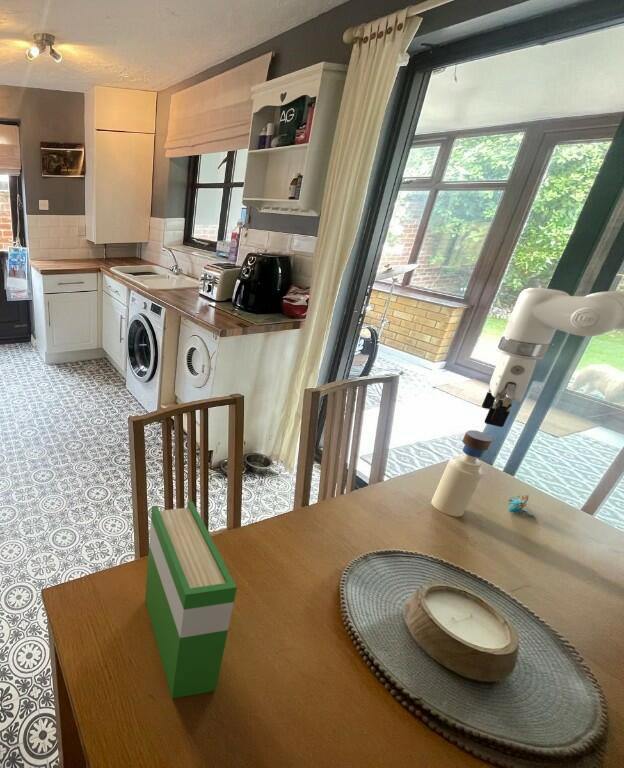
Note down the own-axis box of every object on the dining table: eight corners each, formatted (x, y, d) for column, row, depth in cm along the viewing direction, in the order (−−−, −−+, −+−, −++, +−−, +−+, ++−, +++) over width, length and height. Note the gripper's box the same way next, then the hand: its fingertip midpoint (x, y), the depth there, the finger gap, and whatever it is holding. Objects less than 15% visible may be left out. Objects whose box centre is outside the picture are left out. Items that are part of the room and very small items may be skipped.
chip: (487, 443, 99) (492, 434, 98) (489, 452, 96) (493, 443, 95) (461, 436, 102) (465, 427, 101) (462, 445, 99) (466, 436, 97)
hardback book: (145, 600, 81) (151, 505, 71) (180, 595, 82) (192, 501, 72) (171, 698, 65) (185, 594, 55) (215, 690, 66) (236, 587, 56)
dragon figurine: (485, 491, 112) (508, 499, 104) (515, 483, 111) (540, 491, 103) (494, 513, 112) (517, 524, 104) (523, 506, 111) (549, 516, 103)
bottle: (463, 505, 108) (493, 443, 100) (463, 520, 103) (495, 456, 95) (431, 495, 111) (458, 434, 103) (430, 508, 106) (458, 446, 98)
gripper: (553, 362, 80) (517, 437, 87) (539, 340, 93) (508, 407, 100) (503, 354, 84) (472, 426, 91) (495, 334, 97) (469, 399, 104)
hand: (491, 416), depth 95 cm, fingers open, 9 cm apart
